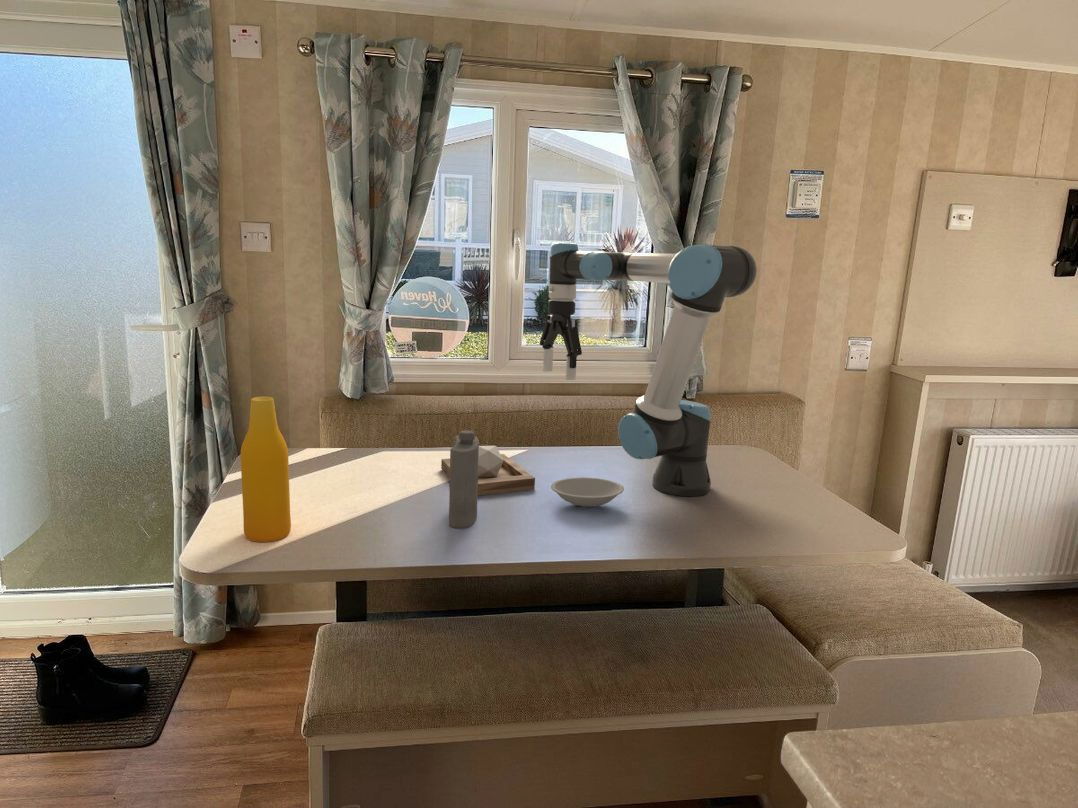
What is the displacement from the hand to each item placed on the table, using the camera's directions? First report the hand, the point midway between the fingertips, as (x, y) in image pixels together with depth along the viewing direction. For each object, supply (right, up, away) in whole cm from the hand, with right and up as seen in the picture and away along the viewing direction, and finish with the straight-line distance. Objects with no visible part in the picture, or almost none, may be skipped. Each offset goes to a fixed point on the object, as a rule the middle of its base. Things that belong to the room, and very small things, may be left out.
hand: (558, 375), depth 209 cm
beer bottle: (-62, -35, -55) cm, 90 cm away
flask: (-23, -34, -40) cm, 57 cm away
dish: (+6, -33, -31) cm, 45 cm away
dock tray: (-19, -28, -14) cm, 37 cm away
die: (-19, -27, -14) cm, 36 cm away
